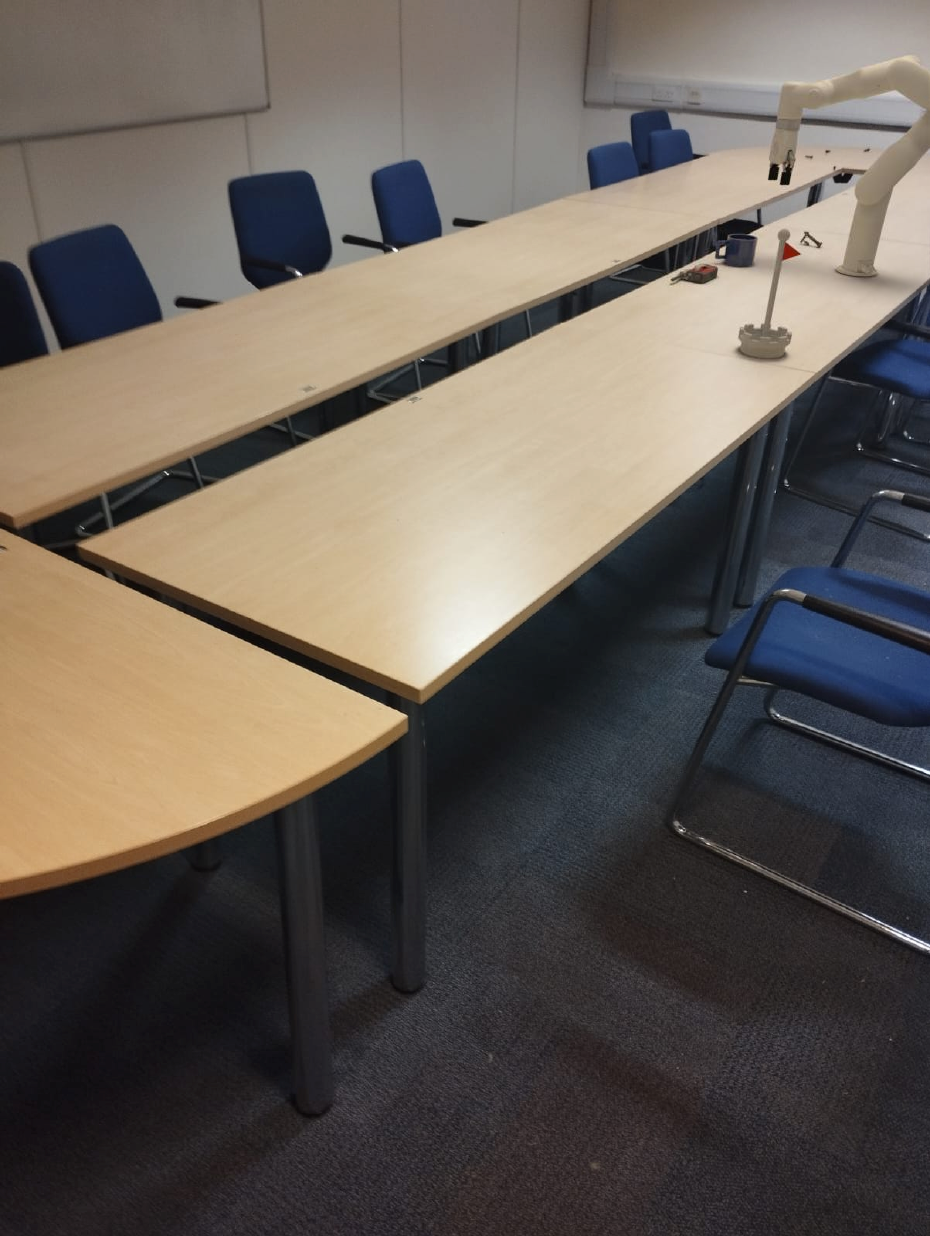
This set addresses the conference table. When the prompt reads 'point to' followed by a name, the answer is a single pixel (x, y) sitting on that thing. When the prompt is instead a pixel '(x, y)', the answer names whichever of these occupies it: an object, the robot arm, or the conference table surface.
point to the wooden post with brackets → (810, 239)
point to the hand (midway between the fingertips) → (778, 182)
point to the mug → (738, 250)
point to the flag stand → (769, 315)
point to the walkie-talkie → (698, 273)
